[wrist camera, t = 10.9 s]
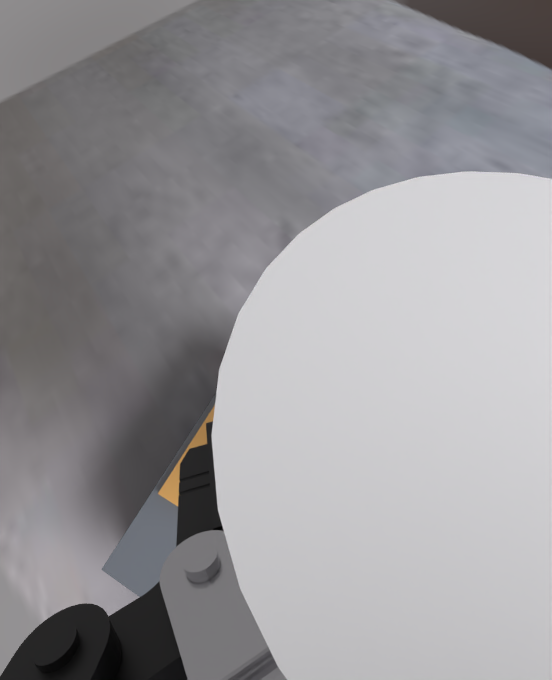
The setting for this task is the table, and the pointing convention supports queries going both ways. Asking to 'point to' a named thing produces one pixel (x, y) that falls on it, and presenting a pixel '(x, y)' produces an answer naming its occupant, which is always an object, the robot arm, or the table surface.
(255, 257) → the table surface
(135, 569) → the socket block
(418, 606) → the tube
